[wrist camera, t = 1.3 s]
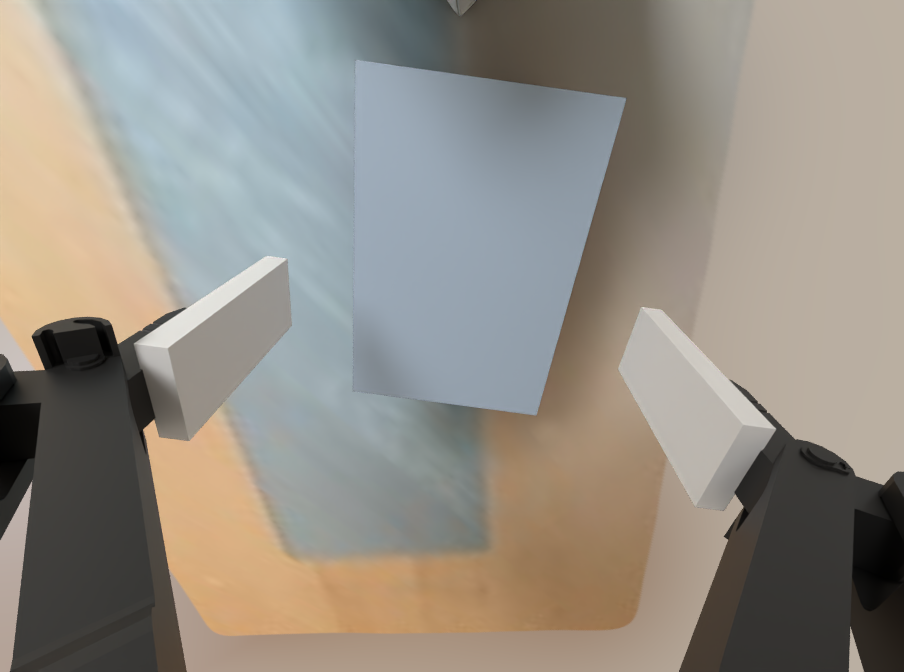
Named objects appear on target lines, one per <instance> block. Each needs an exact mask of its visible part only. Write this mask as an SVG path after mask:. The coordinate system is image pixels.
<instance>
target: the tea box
mask: <svg viewBox="0 0 904 672" xmlns="http://www.w3.org/2000/svg"><path fill="white" fill-rule="evenodd" d="M447 1H448V3H449V4H450V5H451V7H452V8H453V10H454V11H455V12H456V13H457V14H458V15H459V16H461V15H463V14H464V13H465V12H466V11H467V10H468V9H469V8H470V7H471V6H472V5H473V3H474V2H475V1H476V0H447Z"/></svg>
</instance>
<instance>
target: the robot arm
mask: <svg viewBox="0 0 904 672" xmlns="http://www.w3.org/2000/svg"><path fill="white" fill-rule="evenodd" d="M291 326H292V321H291V306H290V291H289V276H288V261H287V259H285V258H278V257H271V256H266V257H264V258H263V259H261V260H260V261H258V262H257V263H255V264H254V265H252V266H251V267H249V268H247V269H246V270H244V271H243V272H241V273H240V274H238V275H237V276H235V277H234V278H232V279H231V280H229V281H228V282H226V283H225V284H223V285H222V286H220V287H219V288H217V289H216V290H214V291H213V292H211V293H210V294H208V295H207V296H205V297H204V298H202V299H200V300H199V301H197V302H196V303H194V304H193V305H191V306H190V307H188V308H182V309H179V310H176V311H173V312H170V313H167V314H165V315H164V316H162V317H161V318H159V319H157V320H156V321H154V322H153V324H150V325H148V326H146V327H145V328H143V330H142V331H138V332H137V333H135V334H134V335H132V336H131V337H129V338H127V339H126V340H124V341H123V342H121V343H120V344H117V341H116V338H115V334H114V331H113V328H112V325H111V323H110V322H109V321H108V320H105V319H102V318H96V317H79V318H70V319H65V320H60V321H57V322H54V323H51V324H48V325H45V326H43V327H41V328H40V329H38V330H36V331H35V332H34V334H33V335H32V339H33V341H34V344H35V346H36V349H37V351H38V353H39V356H40V358H41V361H42V363H43V366H44V368H45V370H38V371H17V372H13V370H12V368H11V366H10V364H9V361H8V359H7V358H6V357H5V356H4V355H2V354H0V540H1V538H2V536H3V534H4V532H5V530H6V529H7V527H8V525H9V523H10V521H11V519H12V517H13V515H14V514H15V512H16V510H17V508H18V506H19V504H20V502H21V500H22V498H23V497H24V495H25V493H26V491H27V489H28V487H29V485H30V483H31V482H32V490H31V500H30V508H29V517H28V527H27V535H26V544H25V553H24V562H23V571H22V579H21V588H20V598H19V607H18V615H17V624H16V633H15V643H14V651H13V660H12V665H11V670H10V672H187V671H186V665H185V660H184V654H183V648H182V643H181V637H180V631H179V626H178V620H177V614H176V609H175V603H174V597H173V592H172V586H171V580H170V575H169V569H168V563H167V557H166V551H165V546H164V540H163V534H162V529H161V523H160V517H159V512H158V506H157V500H156V494H155V489H154V483H153V477H152V472H151V466H150V460H149V455H148V449H147V443H146V439H145V435H144V432H143V429H144V428H145V427H146V426H147V425H148V424H149V423H150V422H152V421H153V420H155V423H156V427H157V431H158V434H159V437H162V438H170V439H178V440H185V441H190V440H191V438H192V437H193V436H194V435H195V434H196V433H197V432H198V431H199V429H200V428H201V427H202V426H203V425H204V424H205V423H206V422H207V420H208V419H209V418H210V417H211V416H212V415H213V414H214V413H215V411H216V410H217V409H218V408H219V407H220V406H221V405H222V404H223V402H224V401H225V400H226V399H227V398H228V397H229V396H230V395H231V393H232V392H233V391H234V390H235V389H236V388H237V387H238V386H239V384H240V383H241V382H242V381H243V380H244V379H245V378H246V377H247V375H248V374H249V373H250V372H251V371H252V370H253V369H254V368H255V366H256V365H257V364H258V363H259V362H260V361H261V360H262V359H263V357H264V356H265V355H266V354H267V353H268V352H269V351H270V350H271V348H272V347H273V346H274V345H275V344H276V343H277V342H278V341H279V339H280V338H281V337H282V336H283V335H284V334H285V333H286V332H287V330H288V329H289V328H290V327H291ZM618 370H619V372H620V374H621V376H622V377H623V379H624V381H625V383H626V385H627V386H628V388H629V390H630V392H631V394H632V395H633V397H634V399H635V401H636V403H637V404H638V406H639V408H640V410H641V411H642V413H643V415H644V417H645V419H646V420H647V422H648V424H649V426H650V428H651V429H652V431H653V433H654V435H655V437H656V438H657V440H658V442H659V444H660V445H661V447H662V449H663V451H664V453H665V454H666V456H667V458H668V460H669V462H670V463H671V465H672V467H673V469H674V470H675V472H676V474H677V476H678V478H679V479H680V481H681V483H682V485H683V487H684V488H685V490H686V492H687V494H688V496H689V497H690V499H691V501H692V503H693V504H694V506H695V507H698V508H705V509H713V510H720V511H724V510H725V509H726V507H727V505H728V504H729V503H730V501H731V499H732V498H733V496H734V495H735V494H736V496H737V497H738V499H739V500H740V502H741V503H742V505H743V506H744V507H743V509H742V510H741V512H740V513H739V515H738V517H737V518H736V519H735V521H734V522H733V524H732V525H731V527H730V528H729V530H728V531H727V533H726V534H725V536H724V537H725V538H727V539H728V542H727V545H726V548H725V550H724V553H723V556H722V559H721V561H720V564H719V566H718V569H717V572H716V574H715V577H714V580H713V582H712V585H711V588H710V590H709V593H708V596H707V598H706V601H705V604H704V606H703V609H702V612H701V614H700V617H699V620H698V622H697V625H696V628H695V630H694V633H693V636H692V638H691V641H690V644H689V647H688V649H687V652H686V654H685V657H684V660H683V662H682V665H681V668H680V670H679V672H849V646H850V626H851V629H852V633H853V636H854V639H855V642H856V646H857V649H858V653H859V656H860V659H861V663H862V666H863V669H864V672H904V472H896V473H895V474H893V475H892V477H891V478H890V479H889V480H888V481H887V482H886V484H885V485H881V484H878V483H875V482H872V481H869V480H865V479H862V478H859V477H856V476H855V473H854V471H853V469H852V468H851V467H850V466H849V465H848V464H847V463H846V461H844V460H843V459H841V458H840V457H839V456H837V455H836V454H835V453H833V452H831V451H829V450H827V449H825V448H823V447H822V446H819V445H816V444H813V443H811V442H808V441H803V440H798V439H797V440H795V439H794V438H793V437H792V436H791V435H790V434H789V433H788V432H787V431H786V430H785V429H784V428H783V427H782V426H781V425H780V424H779V423H778V422H777V421H776V420H775V419H774V418H773V417H772V416H771V415H770V414H769V413H767V410H765V408H764V407H763V406H762V405H761V404H758V402H757V400H755V398H754V397H753V396H752V395H751V394H750V393H749V392H748V391H747V390H745V389H744V388H742V387H741V386H739V385H738V384H736V383H735V382H733V381H732V380H729V379H728V378H727V377H726V376H725V375H724V374H722V372H721V371H720V370H719V369H718V368H717V367H716V366H715V365H714V364H713V363H712V362H711V361H710V360H709V359H708V358H707V356H705V354H704V353H703V352H702V351H701V350H700V349H699V348H698V347H697V346H696V345H695V344H694V343H693V342H692V341H691V340H690V339H689V338H688V337H687V336H686V335H685V334H684V332H683V331H682V330H681V329H680V328H679V327H678V326H677V325H676V324H675V323H674V322H673V321H672V320H671V319H670V318H669V317H668V316H667V315H666V314H665V313H664V312H663V311H662V310H661V309H653V308H646V307H641V309H640V311H639V314H638V317H637V319H636V322H635V325H634V327H633V330H632V333H631V336H630V338H629V341H628V344H627V346H626V349H625V352H624V354H623V357H622V360H621V362H620V365H619V368H618ZM32 480H33V481H32Z"/></svg>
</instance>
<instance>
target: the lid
mask: <svg viewBox="0 0 904 672" xmlns="http://www.w3.org/2000/svg"><path fill="white" fill-rule="evenodd" d="M626 99H627V98H622V97H615V96H608V95H601V94H594V93H587V92H580V91H573V90H566V89H559V88H552V87H545V86H538V85H530V84H523V83H516V82H509V81H502V80H495V79H488V78H481V77H474V76H467V75H460V74H453V73H446V72H439V71H431V70H424V69H417V68H410V67H403V66H396V65H389V64H382V63H375V62H368V61H361V60H355V146H354V283H353V391H355V392H362V393H370V394H378V395H385V396H393V397H400V398H408V399H415V400H423V401H431V402H438V403H446V404H453V405H461V406H469V407H476V408H484V409H491V410H499V411H506V412H514V413H522V414H529V415H537V412H538V408H539V405H540V401H541V398H542V394H543V390H544V387H545V383H546V380H547V376H548V373H549V369H550V366H551V362H552V359H553V355H554V352H555V348H556V345H557V341H558V338H559V334H560V331H561V327H562V324H563V320H564V317H565V313H566V310H567V306H568V303H569V299H570V296H571V292H572V289H573V285H574V281H575V278H576V274H577V271H578V267H579V264H580V260H581V257H582V253H583V250H584V246H585V243H586V239H587V236H588V232H589V229H590V225H591V222H592V218H593V215H594V211H595V208H596V204H597V201H598V197H599V194H600V190H601V187H602V183H603V180H604V176H605V173H606V169H607V165H608V162H609V158H610V155H611V151H612V148H613V144H614V141H615V137H616V134H617V130H618V127H619V123H620V120H621V116H622V113H623V109H624V106H625V102H626Z"/></svg>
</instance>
